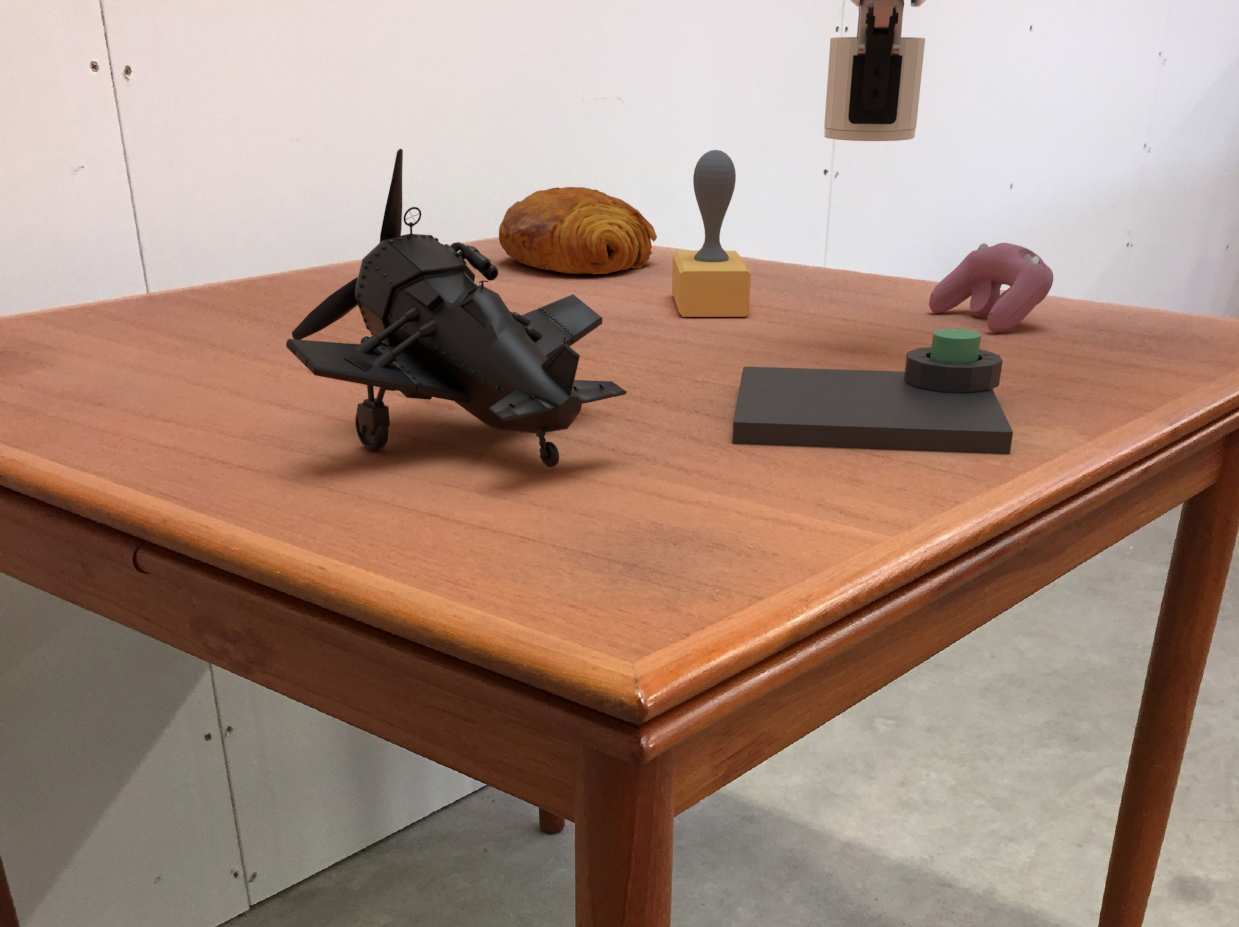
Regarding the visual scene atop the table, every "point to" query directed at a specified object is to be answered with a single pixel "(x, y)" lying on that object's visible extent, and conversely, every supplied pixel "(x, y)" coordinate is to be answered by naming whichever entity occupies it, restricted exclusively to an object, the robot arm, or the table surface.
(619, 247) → the croissant
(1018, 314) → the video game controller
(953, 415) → the scale
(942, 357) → the tare button
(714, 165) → the rubber stamp
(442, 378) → the airplane toy
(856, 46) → the cup
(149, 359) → the table surface
